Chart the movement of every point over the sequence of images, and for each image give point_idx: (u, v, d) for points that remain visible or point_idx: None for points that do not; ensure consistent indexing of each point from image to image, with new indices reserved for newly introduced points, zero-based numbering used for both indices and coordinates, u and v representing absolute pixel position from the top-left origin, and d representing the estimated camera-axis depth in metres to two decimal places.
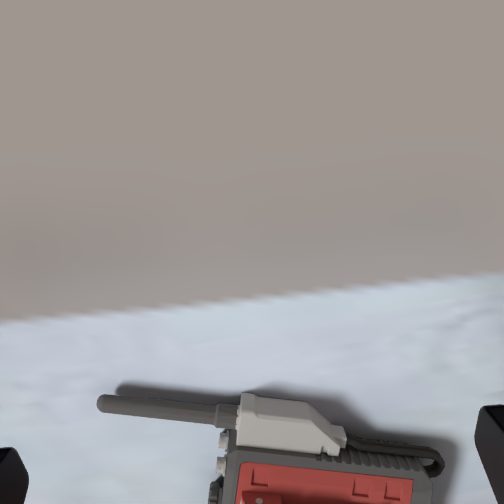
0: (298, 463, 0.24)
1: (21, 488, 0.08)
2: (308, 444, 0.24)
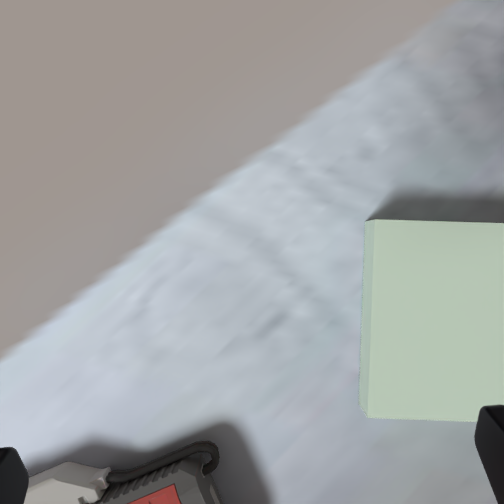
0: None
1: (21, 488, 0.08)
2: (64, 503, 0.23)
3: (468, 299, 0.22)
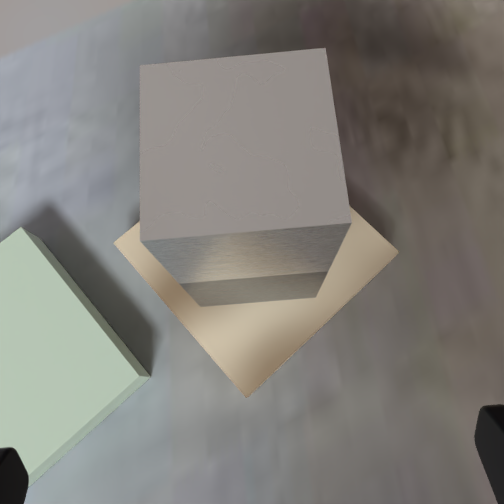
0: None
1: (21, 488, 0.08)
2: None
3: None
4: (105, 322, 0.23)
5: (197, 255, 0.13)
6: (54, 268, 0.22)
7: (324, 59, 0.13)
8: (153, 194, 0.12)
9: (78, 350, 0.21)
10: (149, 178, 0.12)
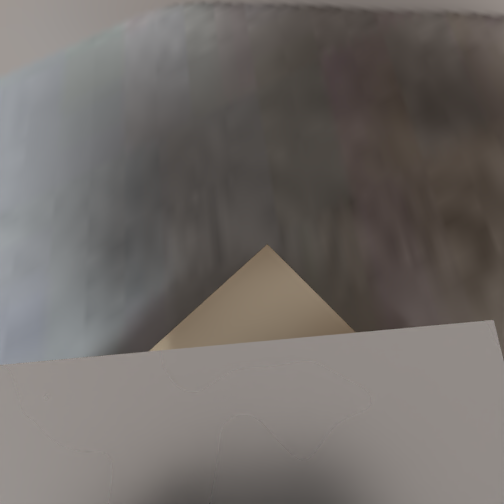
0: None
1: None
2: None
3: None
4: None
5: None
6: None
7: (495, 364, 0.04)
8: None
9: None
10: None
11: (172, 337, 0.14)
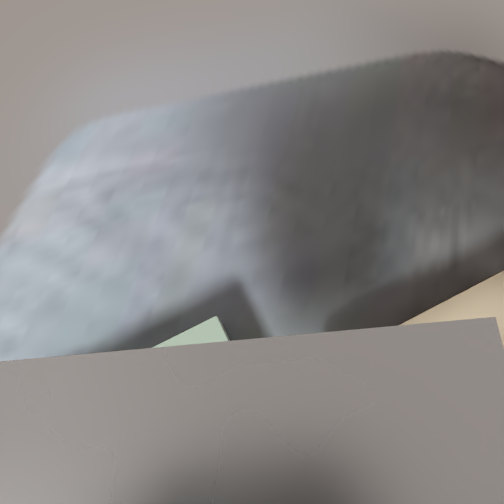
0: None
1: None
2: None
3: None
4: None
5: None
6: None
7: (497, 360, 0.04)
8: None
9: None
10: None
11: (433, 312, 0.19)
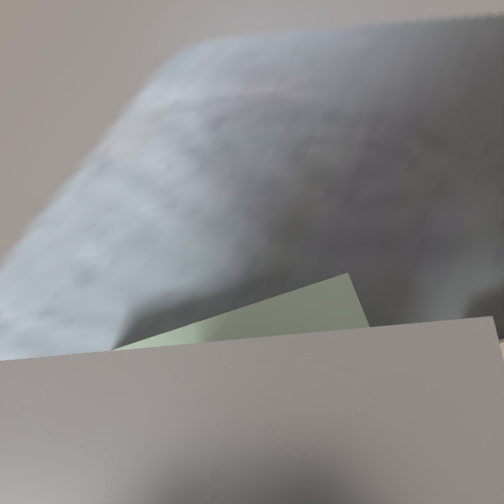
0: None
1: None
2: None
3: None
4: None
5: None
6: None
7: (494, 359, 0.04)
8: None
9: None
10: None
11: None
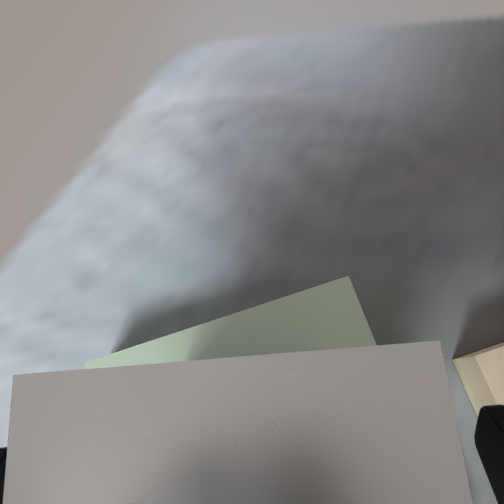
0: None
1: None
2: None
3: None
4: None
5: None
6: None
7: (440, 373, 0.05)
8: None
9: None
10: None
11: None
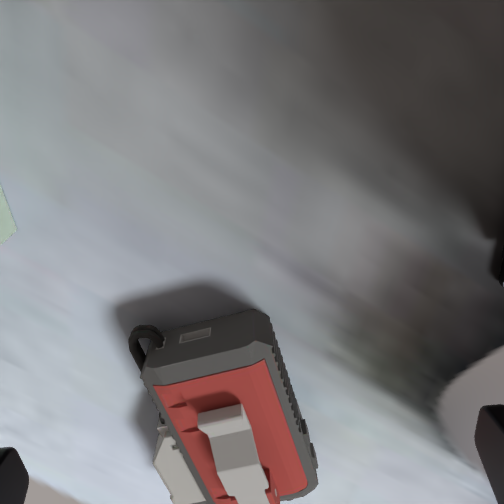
0: (193, 469, 0.23)
1: (21, 488, 0.08)
2: (176, 459, 0.24)
3: None
4: None
5: None
6: None
7: None
8: None
9: None
10: None
11: None
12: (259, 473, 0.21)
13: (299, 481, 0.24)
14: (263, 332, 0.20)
